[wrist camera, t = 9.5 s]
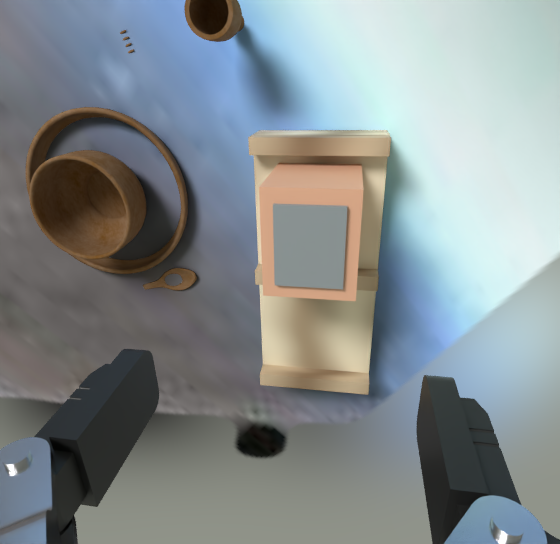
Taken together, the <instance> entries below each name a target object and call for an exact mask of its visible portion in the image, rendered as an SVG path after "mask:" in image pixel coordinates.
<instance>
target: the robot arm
mask: <svg viewBox="0 0 560 544" xmlns="http://www.w3.org/2000/svg"><path fill="white" fill-rule="evenodd" d="M158 400H159V388H158V383H157V377H156V372H155V367H154V361H153V356H152V354H151V352H150V351H146V350H134V349H124V350H122V351H121V352H120V353H119V355H118V356H117V357H116V358H115V359H114V361H113V362H112V363H111V364H105V365H103V366H102V367H100V368H99V369H97V370H96V371H94V372H92V373H91V374H90V375H89V376H88V377H87V378H86V379H85V380H84V381H83V383H82V384H81V385H80V386H79V389H76V390H75V392H74V393H73V394H72V395H71V396H70V399H67V401H66V402H65V403H64V404H63V405H62V406H61V407H60V408H59V410H58V411H57V412H56V413H55V414H54V415H53V416H52V417H51V419H50V420H49V421H48V422H47V423H46V424H45V425H44V427H43V428H42V429H41V430H40V431H39V432H38V433H37V434H36V436H35V437H29V438H24V439H20V440H17V441H15V442H13V443H10V444H8V445H7V446H5V447H3V448H2V449H1V450H0V544H78V539H77V529H76V521H75V517H74V514H75V512H76V511H77V509H78V507H79V506H80V505H81V504H82V505H89V506H95V507H97V506H98V505H99V503H100V501H101V500H102V498H103V496H104V495H105V493H106V492H107V490H108V488H109V487H110V485H111V483H112V481H113V480H114V478H115V477H116V475H117V473H118V472H119V470H120V468H121V467H122V465H123V463H124V461H125V460H126V458H127V457H128V455H129V453H130V451H131V450H132V448H133V447H134V445H135V443H136V442H137V440H138V438H139V437H140V435H141V433H142V432H143V430H144V428H145V427H146V425H147V423H148V422H149V420H150V418H151V417H152V415H153V413H154V412H155V410H156V407H157V404H158ZM417 442H418V448H419V455H420V462H421V469H422V475H423V482H424V488H425V495H426V502H427V508H428V515H429V521H430V528H431V535H432V542H433V544H560V540H559V539H557V538H555V537H554V536H552V535H550V534H549V533H547V532H546V531H544V530H543V528H542V526H541V524H540V523H539V521H538V520H537V519H536V518H535V517H534V516H533V515H532V513H530V512H529V511H528V510H527V509H526V508H524V507H523V506H522V505H521V503H520V500H519V498H518V495H517V493H516V490H515V487H514V484H513V481H512V479H511V476H510V473H509V471H508V468H507V465H506V462H505V460H504V457H503V454H502V451H501V449H500V448H499V443H498V440H497V438H496V435H495V434H494V429H493V427H492V424H491V421H490V419H489V416H488V414H487V413H486V411H485V410H484V409H483V408H482V407H481V406H480V405H479V404H478V403H477V401H476V400H475V399H470V398H460V397H459V393H458V390H457V387H456V384H455V380H454V379H453V378H451V377H440V376H428V375H425V376H424V377H423V382H422V389H421V396H420V403H419V409H418V416H417Z"/></svg>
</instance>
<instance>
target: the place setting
mask: <svg viewBox="0 0 560 544" xmlns="http://www.w3.org/2000/svg"><path fill="white" fill-rule="evenodd" d="M185 17H186V20H187V23H188V25H189V27H190V28H191V30H192V31H193V32H194V33H195V34H196V35H197V36H199V37H201V38H203V39H206V40H209V41H216V42H221V41H226V40H229V39H231V38H232V37H233V36H234V35H235V34H236V33H237V32H238V31H240V30H242V28H243V26H244V19H243V17H242V13H241V8H240V5H239V3H238V1H237V0H186V1H185ZM124 32H126V30H124V31H122V32H120V34H123V33H124ZM128 38H129V37H125V38H124V39H123V40H126V39H128ZM131 44H132V43H129V44H127V45H126V47H128V46H130V45H131ZM133 51H134V49H133V50H130V51H129V52H128V53H131V52H133ZM91 117H105V118H111V119H115V120H119V121H122V122H124V123H127V124H129V125H131V126H133V127H134V128H136V129H138V130H139V131H140V132H141V133H143V134H144V135H145V136H146V137H147V138H148V139H149V140H150V141H151V142H152V143H153V144H154V145H155V146H156V147H157V148H158V149H159V151H160V152H161V153H162V154H163V156H164V157H165V159H166V161H167V162H168V164H169V166H170V168H171V170H172V172H173V174H174V176H175V179H176V182H177V185H178V189H179V193H180V199H181V215H180V220H179V223H178V226H177V229H176V231H175V233H174V235H173V237H172V238H171V239H170V241H169V242H168V243H167V244H166V245H165V246H164V247H163V248H162V249H161V250H159V251H158V252H156V253H154V254H153V255H151V256H148V257H145V258H142V259H137V260H118V259H113V258H109V256H111V255H113V254H115V253H116V252H118V251H119V250H120V249H122V248H123V247H124V246H125V245H127V244H128V243H129V242H130V241H131V240H132V239H133V238H134V237H135V236H136V235H137V234H138V232H139V231H140V229H141V228H142V225H143V223H144V220H145V216H146V199H145V194H144V191H143V188H142V186H141V184H140V182H139V180H138V179H137V177H136V176H135V174H134V173H133V172H132V171H131V169H130V168H129V167H127V166H126V165H125V164H124V163H123V162H121V161H120V160H118V159H117V158H115V157H113V156H111V155H109V154H106V153H103V152H99V151H93V150H83V151H75V152H71V153H67V154H64V155H60V156H57V157H53V158H51V159H49V160H47V161H45V158H46V155H47V151H48V149H49V147H50V145H51V143H52V141H53V140H54V138H55V137H56V135H57V134H58V133H59V132H60V131H61V130H62V129H64V128H65V127H66V126H68V125H69V124H71V123H73V122H75V121H78V120H81V119H84V118H91ZM26 183H27V190H28V194H29V198H30V205H31V209H32V212H33V215H34V218H35V220H36V222H37V224H38V225H39V227H40V228H41V230H42V231H43V233H44V234H45V235H46V236H47V237H48V238H49V239H50V241H52V242H53V243H54V244H55V245H56V246H57V247H59V248H60V249H62V250H63V251H65V252H67V253H68V254H70V255H71V256H73V257H74V258H75V259H77V260H79V261H80V262H82V263H84V264H86V265H88V266H90V267H93V268H95V269H98V270H101V271H105V272H110V273H118V274H130V273H137V272H142V271H145V270H147V269H150V268H152V267H154V266H156V265H158V264H159V263H160V262H162V261H163V260H164V259H165V258H166V257H167V256H168V255H169V254H170V253H171V252H172V251H173V250H174V248H175V247H176V246H177V244H178V243H179V241H180V239H181V237H182V235H183V232H184V229H185V226H186V221H187V215H188V198H187V191H186V186H185V182H184V179H183V176H182V173H181V171H180V168H179V166H178V164H177V162H176V160H175V159H174V157H173V156H172V154H171V152H170V151H169V150H168V148H167V147H166V146H165V145H164V143H163V142H162V141H161V140H160V139H159V138H158V137H157V136H156V135H155V134H154V133H153V132H152V131H151V130H149V129H148V128H147V127H146V126H144V125H143V124H141V123H140V122H138V121H136V120H135V119H133V118H131V117H129V116H127V115H125V114H122V113H120V112H116V111H113V110H110V109H104V108H97V107H84V108H76V109H71V110H68V111H65V112H62V113H60V114H58V115H56V116H54V117H53V118H51V119H50V120H49V121H47V122H46V123H45V124H44V125H43V126H42V127H41V128H40V129H39V131H38V132H37V134H36V135H35V137H34V138H33V141H32V143H31V145H30V148H29V151H28V155H27V161H26ZM169 274H179V275H180V276H181V277H182V280H183V281H182V283H181V284H179V285H177V286H169V285H167V284H166V282H165V277H166V276H167V275H169ZM196 279H197V277H196V274H195V273H194V272H193V271H191V270H188V269H184V268H174V269H170V270H168V271H167V272H165V273H164V274H163V275H162V277H161V278H160V279H159V280H157V281H154V282H151V283H148V284H144V285H143V287H144V289H151V288H156V287H164V288H168V289H171V290H184V289H187V288H189V287H190V286H191V285H192V284H193V283H194V282H195V281H196Z"/></svg>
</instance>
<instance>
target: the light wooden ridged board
mask: <svg viewBox="0 0 560 544" xmlns="http://www.w3.org/2000/svg"><path fill="white" fill-rule="evenodd" d="M248 138H249V155H254V171H255V194H256V216H257V239H258V262H259V264H258V266H257V268H256V270H255V283H256V285H260V307H261V329H262V352H263V366H262V369H261V372H260V385H268V386H279V387H290V388H301V389H312V390H323V391H334V392H345V393H356V394H367V395H368V392H369V364H370V353H371V341H372V330H373V318H374V307H375V295H376V291H377V290H378V279H379V276H378V261H379V249H380V237H381V226H382V214H383V203H384V191H385V180H386V168H387V157H388V156H389V155H390V143H391V137H390V135H389V133H388V131H387V130H259V131H258V132H256V133H255V134H253V135H251V136H250V137H248ZM278 163H313V164H362V176H363V204H362V218H361V233H360V247H359V262H358V276H357V291H356V301H342V300H326V299H310V298H294V297H278V296H263V280H262V253H261V226H260V198H259V187H260V185H261V184H262V183H263V182H264V180H265V179H266V178H267V177H268V175H269V174H270V173H271V172H272V171H273V169H274V168H275V167H276V166H277V164H278Z"/></svg>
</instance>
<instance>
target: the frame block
mask: <svg viewBox="0 0 560 544" xmlns="http://www.w3.org/2000/svg"><path fill="white" fill-rule="evenodd" d="M259 198H260V226H261V253H262V280H263V296H278V297H294V298H310V299H326V300H342V301H356V291H357V276H358V262H359V247H360V233H361V218H362V204H363V176H362V164H313V163H278V164H277V166H276V167H275V168H274V169H273V171H272V172H271V173H270V174H269V175H268V177H267V178H266V179H265V180H264V182H263V183H262V184H261V185H260V187H259Z"/></svg>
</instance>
